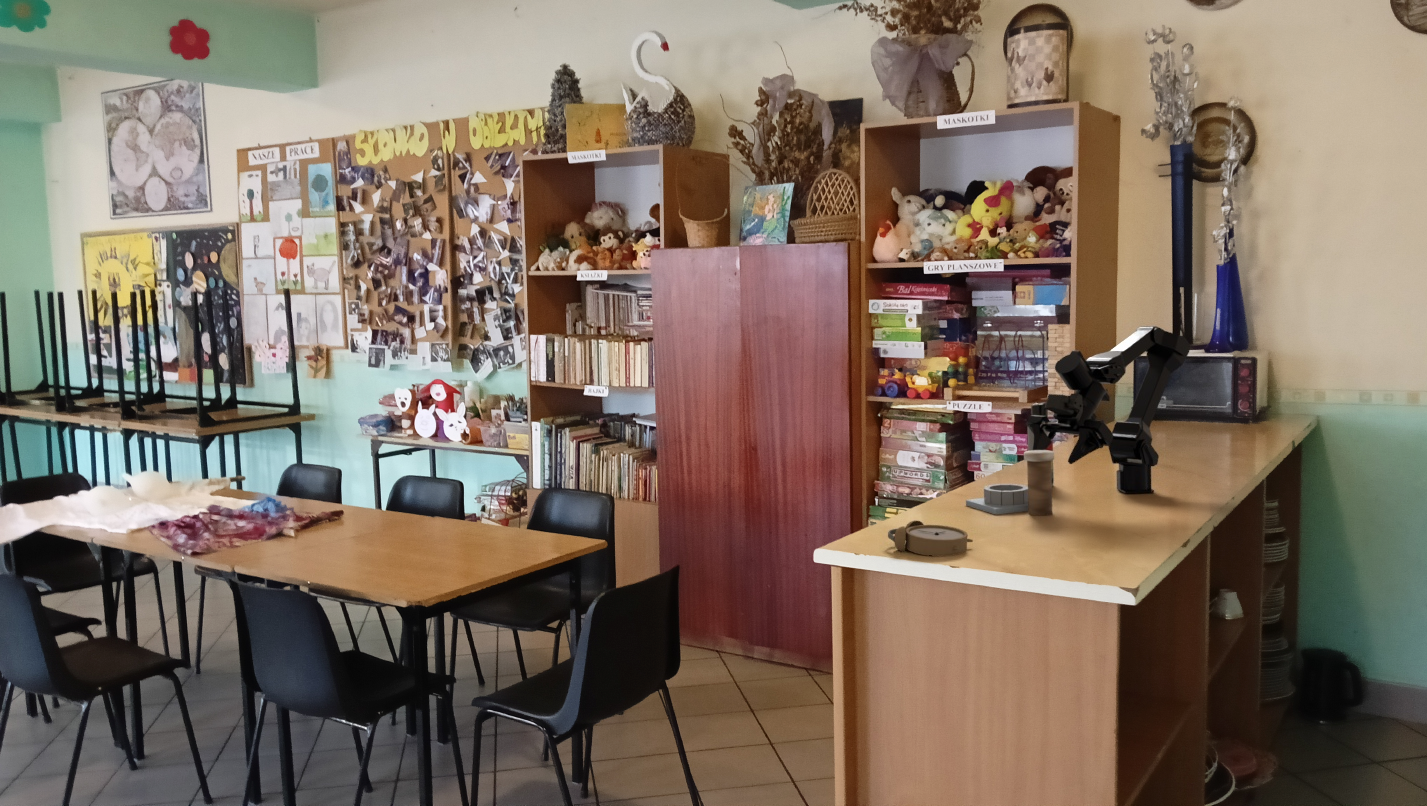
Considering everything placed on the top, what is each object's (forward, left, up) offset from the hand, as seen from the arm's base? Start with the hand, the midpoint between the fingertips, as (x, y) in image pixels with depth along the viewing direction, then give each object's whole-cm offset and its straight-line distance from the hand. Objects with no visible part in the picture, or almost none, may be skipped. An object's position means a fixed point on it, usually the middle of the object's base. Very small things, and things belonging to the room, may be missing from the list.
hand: (1051, 460), depth 226 cm
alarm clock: (+31, +29, -11) cm, 44 cm away
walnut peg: (+3, +2, -11) cm, 11 cm away
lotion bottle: (-5, -30, -11) cm, 32 cm away
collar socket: (+8, -6, -11) cm, 15 cm away
